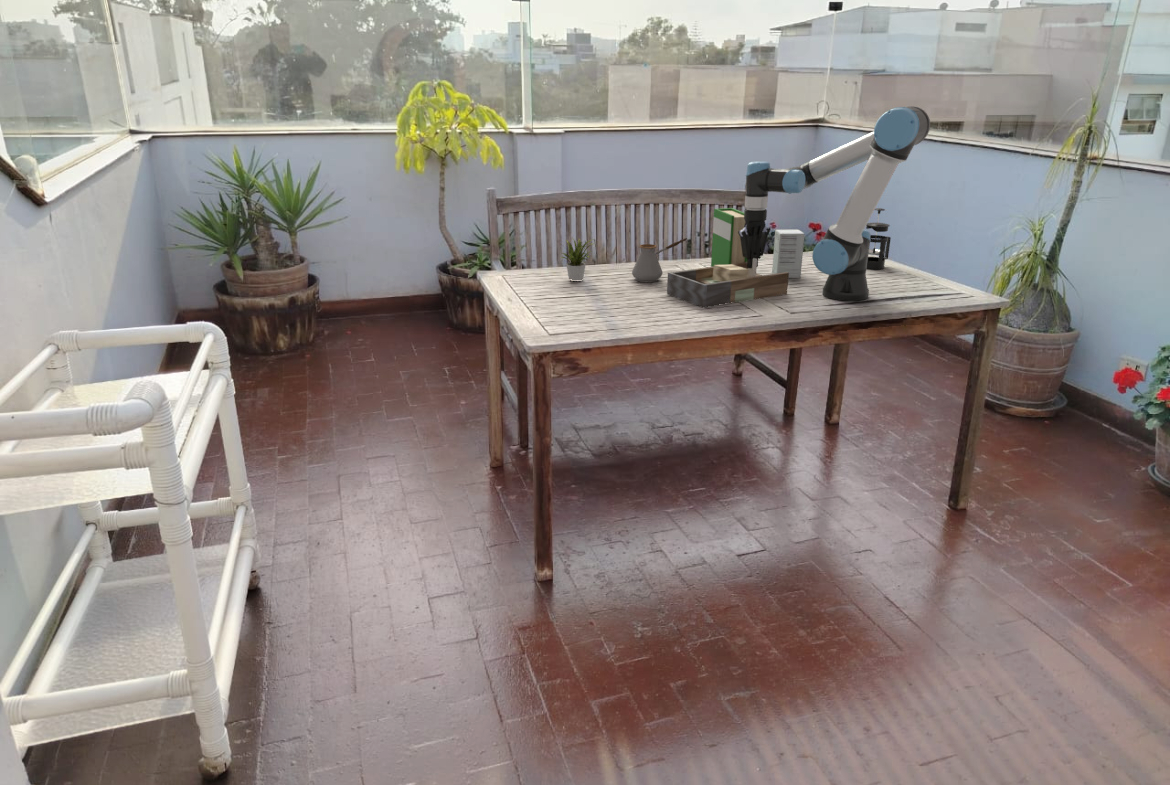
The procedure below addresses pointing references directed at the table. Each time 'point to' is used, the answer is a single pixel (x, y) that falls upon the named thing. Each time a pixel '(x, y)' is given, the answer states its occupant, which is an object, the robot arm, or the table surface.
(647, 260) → the coffee pot
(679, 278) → the tray
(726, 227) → the hardback book
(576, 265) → the house plant
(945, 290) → the table surface
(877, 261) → the french press
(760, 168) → the robot arm
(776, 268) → the supplement box
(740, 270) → the birch block
